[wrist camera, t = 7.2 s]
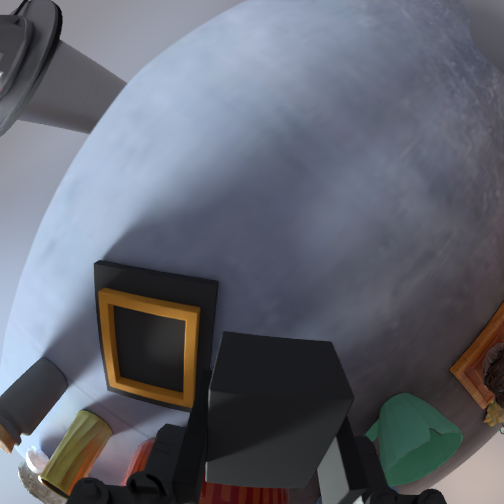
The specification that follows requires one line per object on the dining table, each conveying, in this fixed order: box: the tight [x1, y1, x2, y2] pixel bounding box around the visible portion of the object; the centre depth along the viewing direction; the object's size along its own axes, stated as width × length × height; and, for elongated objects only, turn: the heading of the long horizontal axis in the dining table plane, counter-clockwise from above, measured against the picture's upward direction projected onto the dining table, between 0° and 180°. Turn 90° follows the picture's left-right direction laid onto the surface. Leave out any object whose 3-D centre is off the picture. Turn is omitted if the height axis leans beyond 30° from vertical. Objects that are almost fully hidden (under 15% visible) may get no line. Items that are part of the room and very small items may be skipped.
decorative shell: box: [18, 462, 67, 504], centre depth 35 cm, size 18×18×10 cm
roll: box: [26, 446, 49, 474], centre depth 33 cm, size 6×12×6 cm, turn 143°
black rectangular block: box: [206, 331, 354, 488], centre depth 11 cm, size 7×5×4 cm
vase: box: [39, 410, 112, 500], centre depth 24 cm, size 6×6×14 cm
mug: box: [364, 393, 463, 486], centre depth 23 cm, size 15×10×10 cm
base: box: [94, 260, 219, 413], centre depth 25 cm, size 16×12×2 cm
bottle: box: [0, 359, 67, 454], centre depth 21 cm, size 6×6×15 cm
